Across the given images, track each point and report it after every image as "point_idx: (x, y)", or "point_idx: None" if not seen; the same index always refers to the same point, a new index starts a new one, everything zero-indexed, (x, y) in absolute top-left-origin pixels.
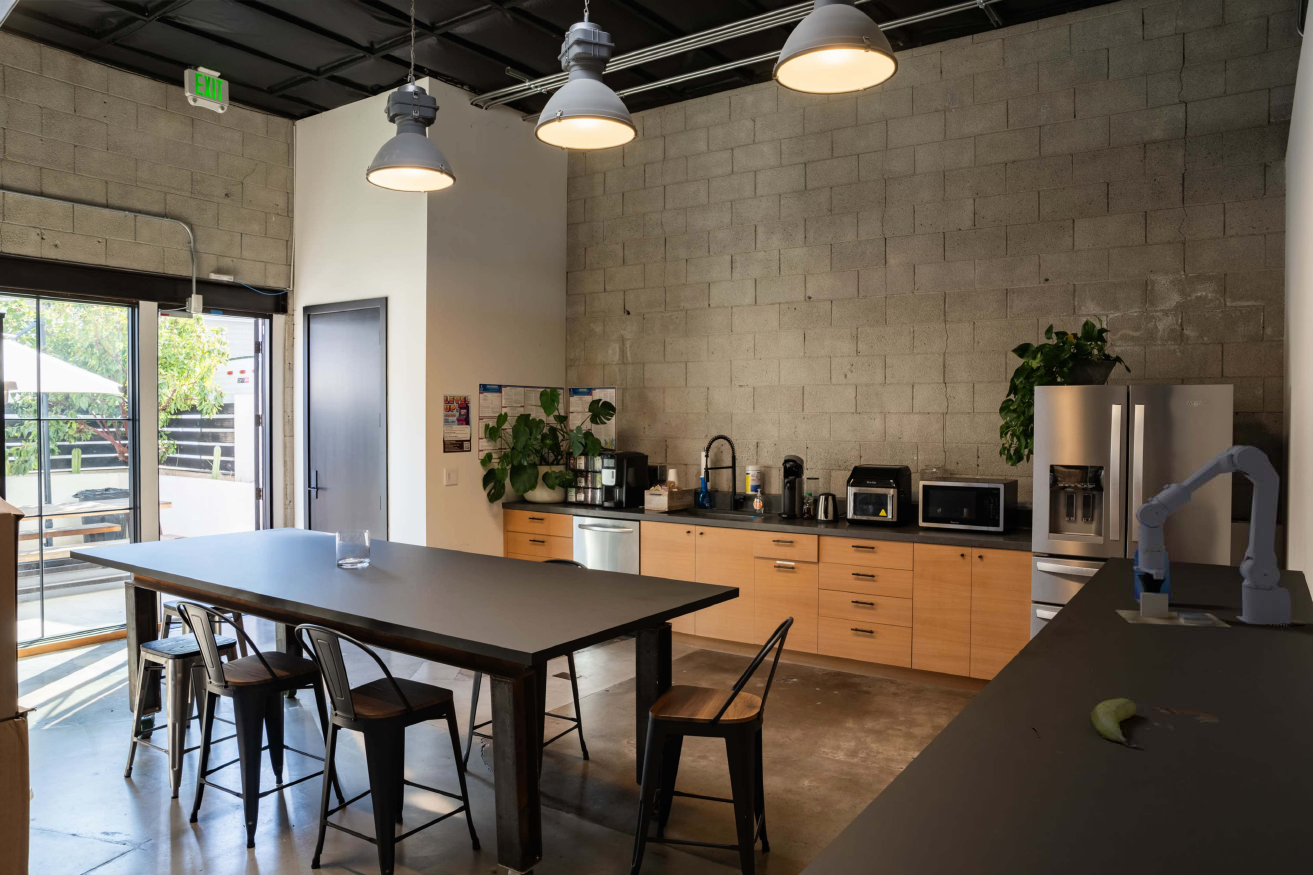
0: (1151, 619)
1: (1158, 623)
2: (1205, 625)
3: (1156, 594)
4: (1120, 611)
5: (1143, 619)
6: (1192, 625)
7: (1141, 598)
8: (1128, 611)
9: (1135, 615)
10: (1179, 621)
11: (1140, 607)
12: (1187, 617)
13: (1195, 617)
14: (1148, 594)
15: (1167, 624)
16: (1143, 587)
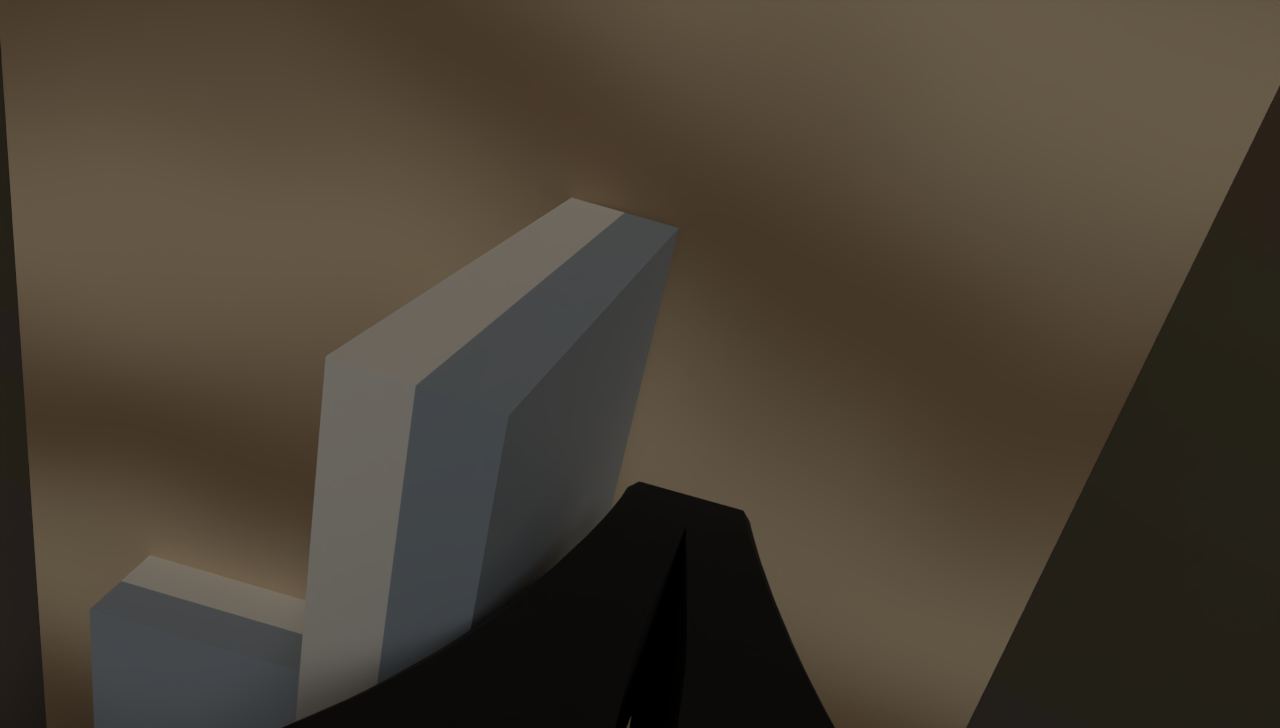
0: (346, 246)
1: (43, 193)
2: (71, 702)
3: (302, 678)
4: (1130, 23)
5: (325, 104)
6: (36, 572)
7: (431, 312)
8: (1092, 198)
9: (682, 138)
10: (252, 558)
11: (611, 262)
12: (97, 642)
13: (103, 725)
14: (317, 510)
15: (23, 298)
16: (756, 713)
